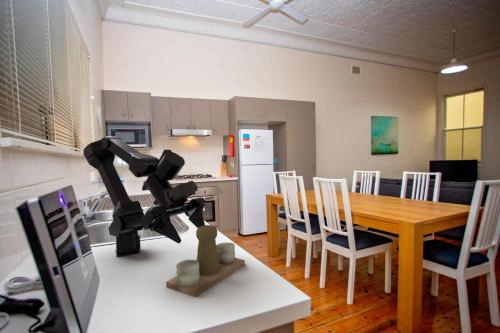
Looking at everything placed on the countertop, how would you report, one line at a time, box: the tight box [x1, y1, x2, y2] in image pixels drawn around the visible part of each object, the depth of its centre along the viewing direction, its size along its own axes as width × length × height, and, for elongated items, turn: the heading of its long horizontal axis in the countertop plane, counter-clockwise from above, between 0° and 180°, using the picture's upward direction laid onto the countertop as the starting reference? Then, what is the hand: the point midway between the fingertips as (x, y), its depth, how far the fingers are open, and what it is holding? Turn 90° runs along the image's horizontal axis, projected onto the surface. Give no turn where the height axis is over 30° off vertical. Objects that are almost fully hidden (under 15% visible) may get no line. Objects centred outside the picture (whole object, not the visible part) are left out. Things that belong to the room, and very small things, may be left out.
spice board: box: [165, 241, 246, 298], centre depth 65 cm, size 9×19×5 cm, turn 148°
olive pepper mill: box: [195, 224, 220, 275], centre depth 65 cm, size 6×6×11 cm
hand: (193, 237), depth 67 cm, fingers open, 9 cm apart
